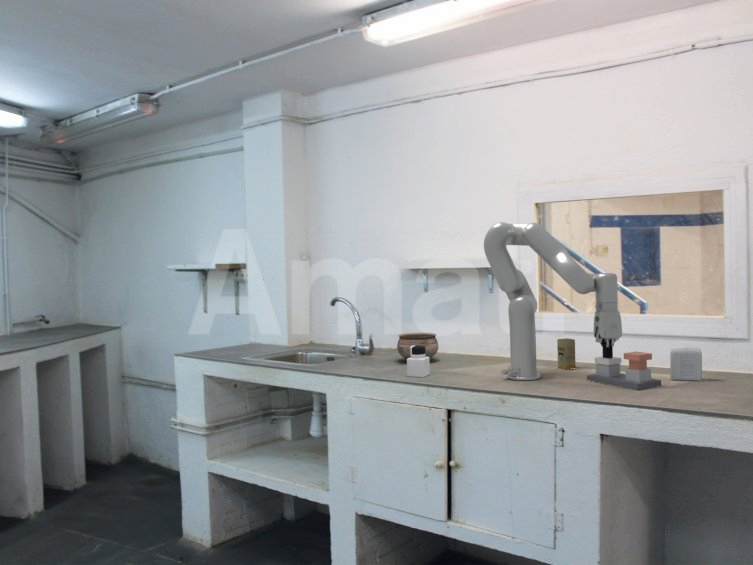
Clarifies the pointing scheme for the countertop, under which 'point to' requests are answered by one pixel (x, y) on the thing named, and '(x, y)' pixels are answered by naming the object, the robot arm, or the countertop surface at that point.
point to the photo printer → (686, 363)
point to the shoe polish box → (566, 353)
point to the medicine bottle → (418, 362)
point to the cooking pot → (417, 343)
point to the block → (624, 377)
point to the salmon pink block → (638, 360)
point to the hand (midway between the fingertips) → (607, 357)
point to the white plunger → (608, 360)
